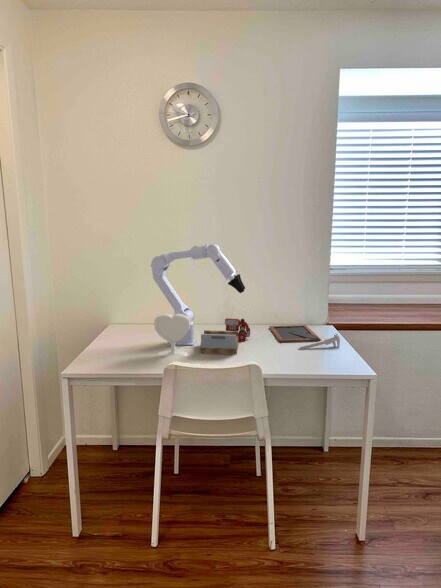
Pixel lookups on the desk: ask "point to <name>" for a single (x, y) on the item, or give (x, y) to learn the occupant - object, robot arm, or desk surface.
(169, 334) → the heart sculpture
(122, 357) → the desk surface
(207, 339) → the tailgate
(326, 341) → the caliper
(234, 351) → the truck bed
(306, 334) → the picture frame
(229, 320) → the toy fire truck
